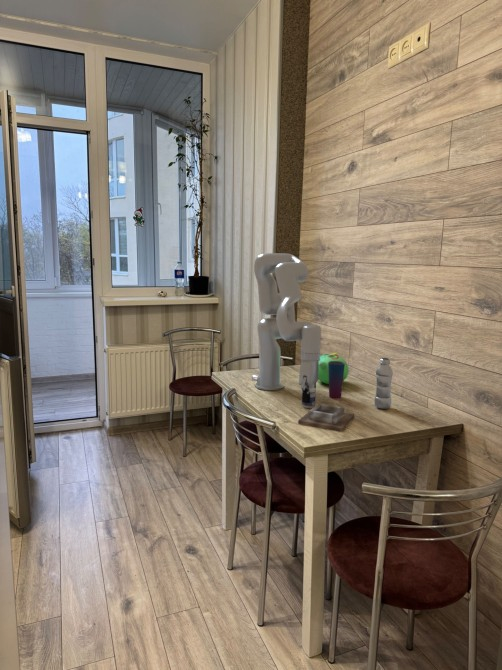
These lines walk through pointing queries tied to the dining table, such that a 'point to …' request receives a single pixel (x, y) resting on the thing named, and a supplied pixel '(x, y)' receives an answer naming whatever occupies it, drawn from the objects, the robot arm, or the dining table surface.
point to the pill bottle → (311, 398)
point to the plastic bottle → (383, 384)
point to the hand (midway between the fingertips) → (308, 400)
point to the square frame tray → (327, 417)
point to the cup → (335, 378)
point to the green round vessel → (324, 369)
